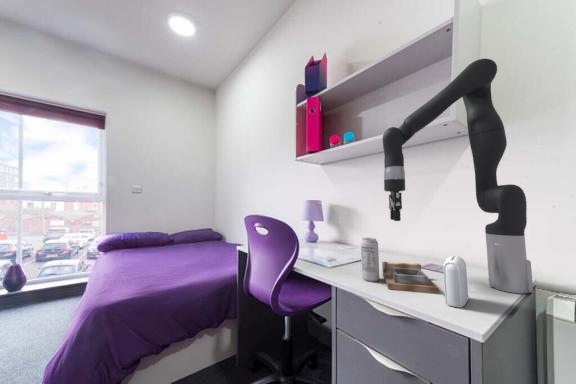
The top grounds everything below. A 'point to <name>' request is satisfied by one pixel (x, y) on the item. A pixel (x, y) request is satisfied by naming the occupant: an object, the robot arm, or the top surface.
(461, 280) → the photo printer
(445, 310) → the top surface
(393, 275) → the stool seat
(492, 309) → the top surface
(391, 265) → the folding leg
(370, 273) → the energy drink can
